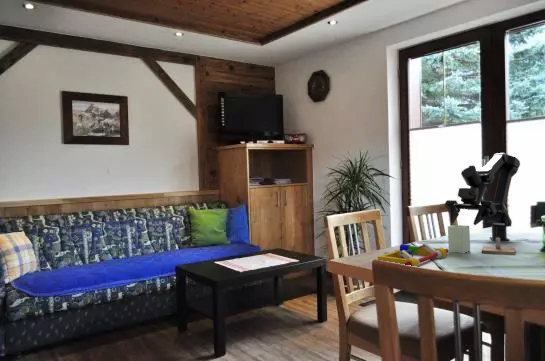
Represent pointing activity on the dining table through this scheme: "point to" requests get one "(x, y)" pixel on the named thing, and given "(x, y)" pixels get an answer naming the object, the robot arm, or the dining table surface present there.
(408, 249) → the mechanical clamp
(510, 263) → the dining table surface
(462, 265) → the dining table surface
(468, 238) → the sleeve
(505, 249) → the peg stand
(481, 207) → the robot arm
